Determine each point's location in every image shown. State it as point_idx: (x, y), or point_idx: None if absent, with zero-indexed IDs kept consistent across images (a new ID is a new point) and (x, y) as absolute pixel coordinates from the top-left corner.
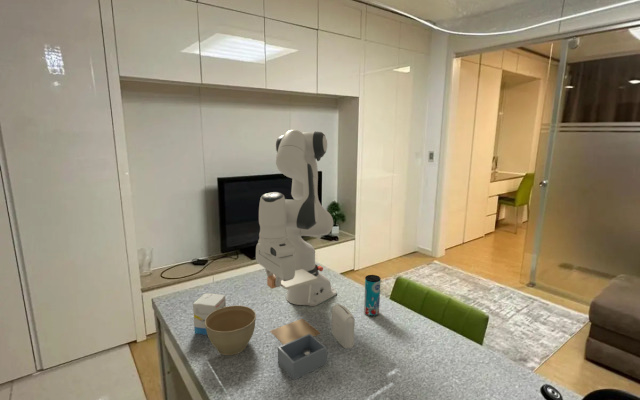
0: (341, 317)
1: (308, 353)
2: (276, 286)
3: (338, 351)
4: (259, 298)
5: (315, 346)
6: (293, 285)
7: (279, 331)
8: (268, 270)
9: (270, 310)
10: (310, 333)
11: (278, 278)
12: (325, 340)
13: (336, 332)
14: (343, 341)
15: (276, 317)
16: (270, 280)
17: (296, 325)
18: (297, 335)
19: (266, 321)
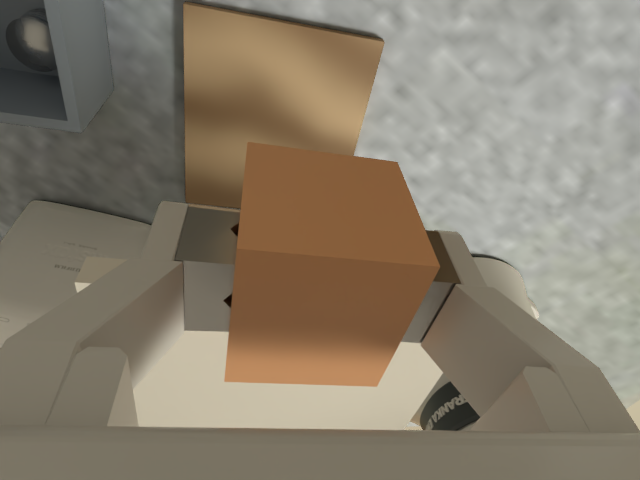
0: (1, 307)
1: (9, 34)
2: (161, 207)
3: (36, 171)
4: (631, 194)
5: (17, 94)
6: None
7: (339, 78)
8: (428, 436)
9: (515, 167)
10: (215, 172)
11: (12, 360)
12: (140, 185)
13: (94, 237)
14: (30, 218)
15: (449, 150)
16: (288, 232)
17: None
18: (243, 121)
19: (470, 94)
